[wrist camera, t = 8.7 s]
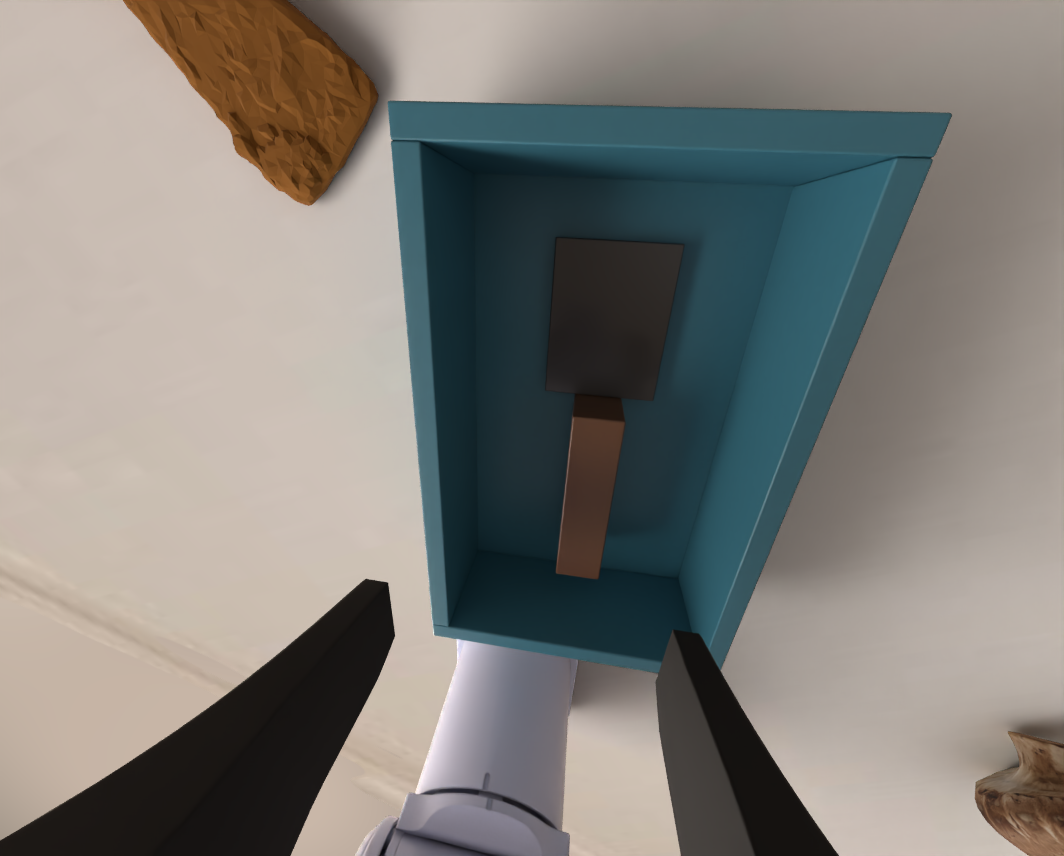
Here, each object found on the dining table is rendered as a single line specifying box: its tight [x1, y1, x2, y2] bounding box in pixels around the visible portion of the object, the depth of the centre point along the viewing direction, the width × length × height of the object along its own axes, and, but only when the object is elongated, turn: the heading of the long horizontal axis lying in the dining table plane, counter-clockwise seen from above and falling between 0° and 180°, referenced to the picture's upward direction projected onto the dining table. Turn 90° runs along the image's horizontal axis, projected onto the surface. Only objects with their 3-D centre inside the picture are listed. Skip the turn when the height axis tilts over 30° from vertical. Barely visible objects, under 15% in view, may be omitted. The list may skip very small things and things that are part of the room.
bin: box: [388, 101, 952, 673], centre depth 16 cm, size 20×13×6 cm, turn 177°
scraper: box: [545, 237, 685, 579], centre depth 16 cm, size 14×5×3 cm, turn 177°
